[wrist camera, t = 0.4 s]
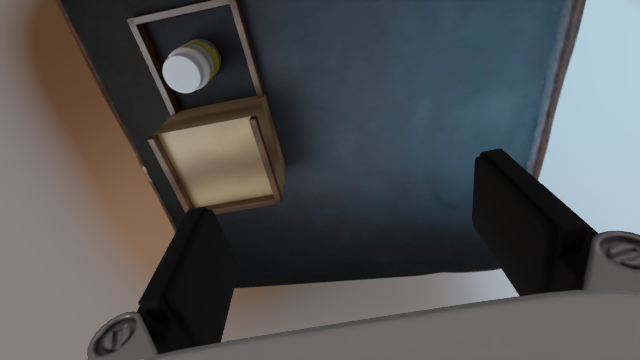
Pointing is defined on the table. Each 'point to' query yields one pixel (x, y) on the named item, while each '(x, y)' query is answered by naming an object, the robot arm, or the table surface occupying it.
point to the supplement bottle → (191, 66)
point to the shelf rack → (216, 135)
